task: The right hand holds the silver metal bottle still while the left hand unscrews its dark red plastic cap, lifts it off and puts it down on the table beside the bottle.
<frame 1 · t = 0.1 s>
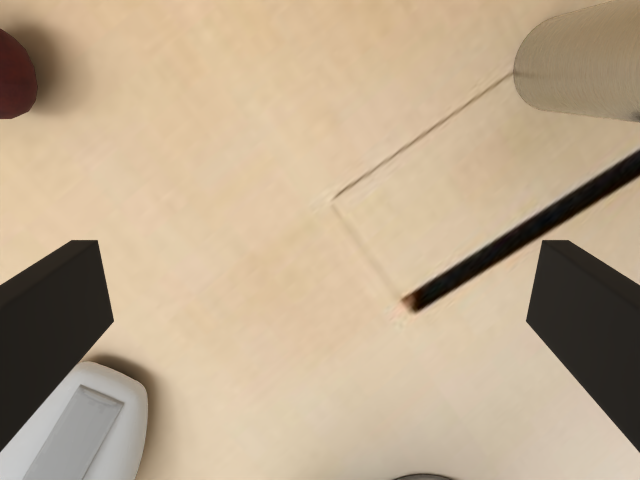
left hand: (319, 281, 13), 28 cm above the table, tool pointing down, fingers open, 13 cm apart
projector: (86, 428, 51), on the table
bottle: (558, 64, 36), on the table
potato: (14, 73, 37), on the table
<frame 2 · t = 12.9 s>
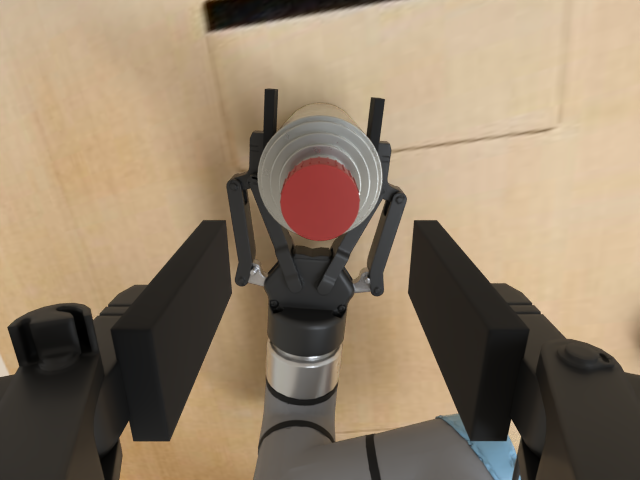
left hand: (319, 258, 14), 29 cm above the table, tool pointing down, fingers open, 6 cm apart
right hand: (324, 94, 33), fingers closed on bottle, 8 cm apart
bottle: (319, 143, 41), on the table, touching right hand
cap: (319, 202, 21), point 22 cm above the table, screwed on, not yet turned
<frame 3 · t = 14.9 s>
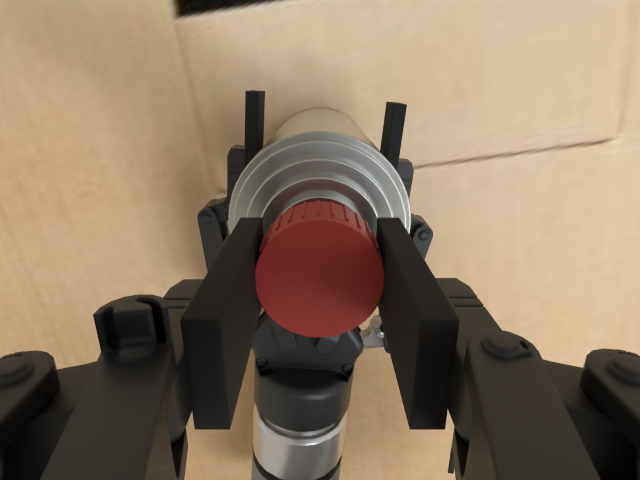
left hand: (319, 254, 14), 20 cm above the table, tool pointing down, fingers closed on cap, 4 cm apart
right hand: (326, 97, 25), fingers closed on bottle, 8 cm apart
bottle: (319, 158, 33), on the table, touching right hand
cap: (319, 277, 13), point 22 cm above the table, screwed on, not yet turned, touching left hand
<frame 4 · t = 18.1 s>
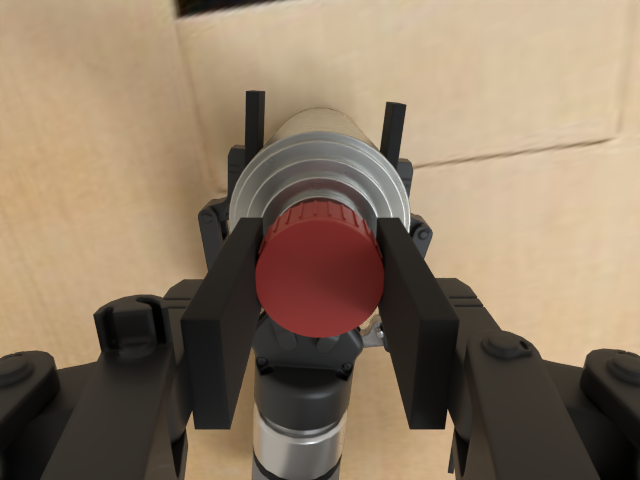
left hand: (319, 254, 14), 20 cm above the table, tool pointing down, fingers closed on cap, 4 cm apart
right hand: (326, 97, 25), fingers closed on bottle, 8 cm apart
bottle: (319, 158, 33), on the table, touching right hand
cap: (319, 277, 13), point 22 cm above the table, turned 106° so far, risen 0.1 cm, still on its thread, touching left hand
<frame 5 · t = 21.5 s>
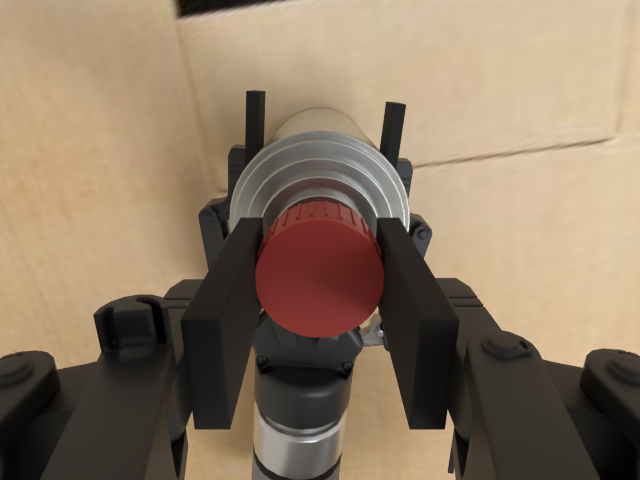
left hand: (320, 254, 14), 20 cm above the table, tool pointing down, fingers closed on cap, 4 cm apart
right hand: (326, 97, 25), fingers closed on bottle, 8 cm apart
bottle: (319, 158, 33), on the table, touching right hand
cap: (319, 277, 13), point 22 cm above the table, turned 211° so far, risen 0.2 cm, still on its thread, touching left hand
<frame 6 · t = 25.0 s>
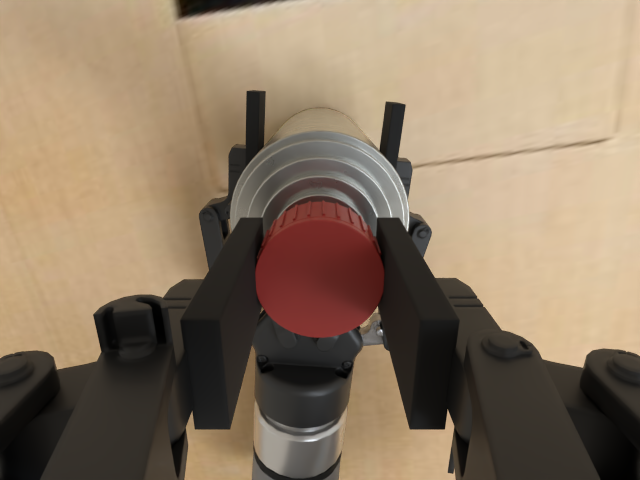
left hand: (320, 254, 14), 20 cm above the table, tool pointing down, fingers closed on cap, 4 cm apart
right hand: (326, 97, 25), fingers closed on bottle, 8 cm apart
bottle: (319, 158, 33), on the table, touching right hand
cap: (319, 277, 13), point 22 cm above the table, turned 317° so far, risen 0.3 cm, still on its thread, touching left hand
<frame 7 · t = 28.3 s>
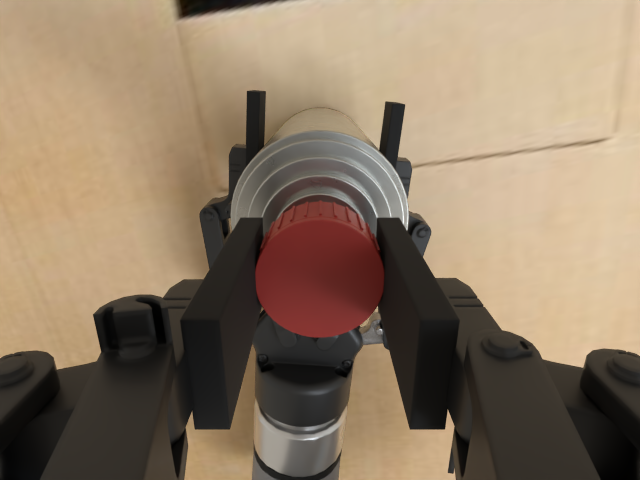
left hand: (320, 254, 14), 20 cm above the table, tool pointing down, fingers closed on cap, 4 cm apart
right hand: (326, 97, 25), fingers closed on bottle, 8 cm apart
bottle: (319, 157, 33), on the table, touching right hand
cap: (319, 277, 13), point 22 cm above the table, turned 422° so far, risen 0.5 cm, still on its thread, touching left hand
when the left hand's fingers open (1 cm above the table, at t = 36.2 s): cap drops 1 cm, point 2 cm above the table.
when the right hand's fingers open (7 cm above the table, at t = 37.5 s): bottle stays where it is, on the table.
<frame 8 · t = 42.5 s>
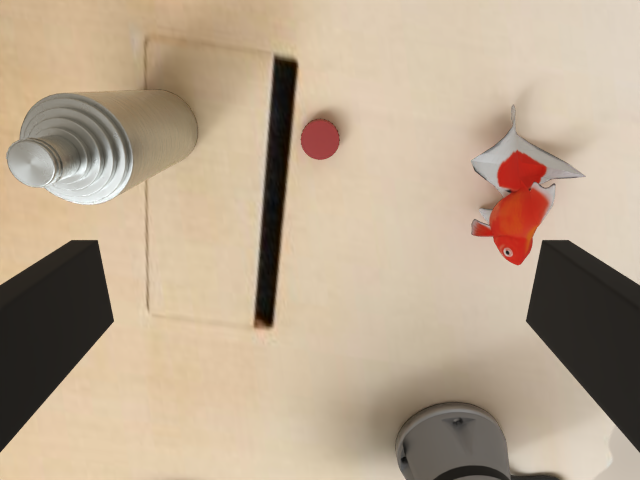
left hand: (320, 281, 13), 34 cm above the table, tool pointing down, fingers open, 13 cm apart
fish: (497, 177, 46), on the table
bottle: (161, 127, 44), on the table
cap: (320, 140, 43), point 2 cm above the table, off its thread
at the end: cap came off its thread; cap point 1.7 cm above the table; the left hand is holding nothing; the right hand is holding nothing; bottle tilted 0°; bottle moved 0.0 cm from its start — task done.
